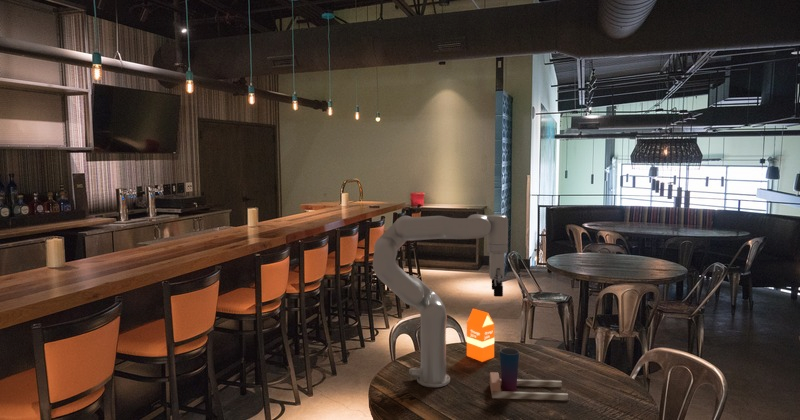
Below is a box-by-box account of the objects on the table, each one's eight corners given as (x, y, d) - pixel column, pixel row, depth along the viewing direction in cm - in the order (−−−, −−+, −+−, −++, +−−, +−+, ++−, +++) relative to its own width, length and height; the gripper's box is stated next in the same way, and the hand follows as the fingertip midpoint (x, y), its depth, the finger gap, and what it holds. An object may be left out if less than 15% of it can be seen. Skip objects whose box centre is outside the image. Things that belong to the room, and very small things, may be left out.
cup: (496, 388, 188) (496, 348, 187) (512, 385, 190) (513, 346, 189) (505, 396, 182) (505, 355, 180) (522, 393, 184) (522, 353, 182)
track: (492, 397, 181) (492, 384, 180) (489, 383, 192) (489, 370, 192) (568, 400, 178) (568, 386, 178) (561, 385, 190) (561, 372, 189)
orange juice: (478, 351, 224) (478, 306, 222) (494, 357, 217) (494, 311, 215) (466, 355, 219) (466, 310, 217) (482, 362, 212) (482, 314, 210)
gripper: (485, 244, 201) (485, 286, 203) (488, 252, 184) (488, 299, 185) (505, 244, 200) (504, 287, 202) (510, 252, 183) (509, 299, 185)
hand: (497, 292), depth 194 cm, fingers open, 9 cm apart
